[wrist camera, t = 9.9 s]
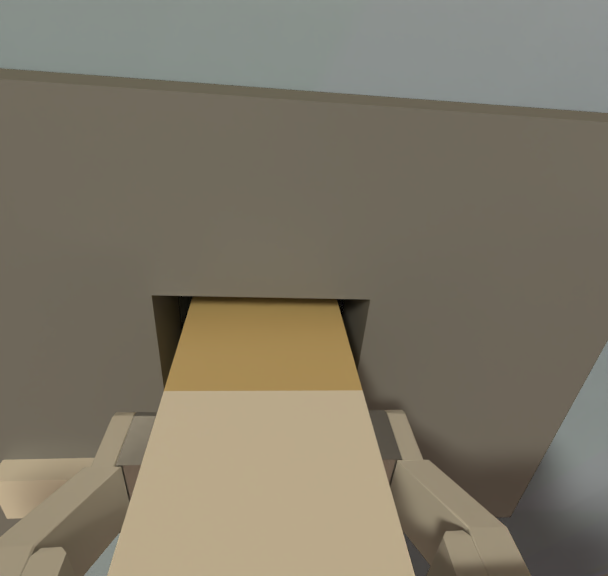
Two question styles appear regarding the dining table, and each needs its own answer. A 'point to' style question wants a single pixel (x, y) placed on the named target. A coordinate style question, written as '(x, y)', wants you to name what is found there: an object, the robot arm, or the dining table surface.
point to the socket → (297, 258)
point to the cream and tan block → (262, 453)
